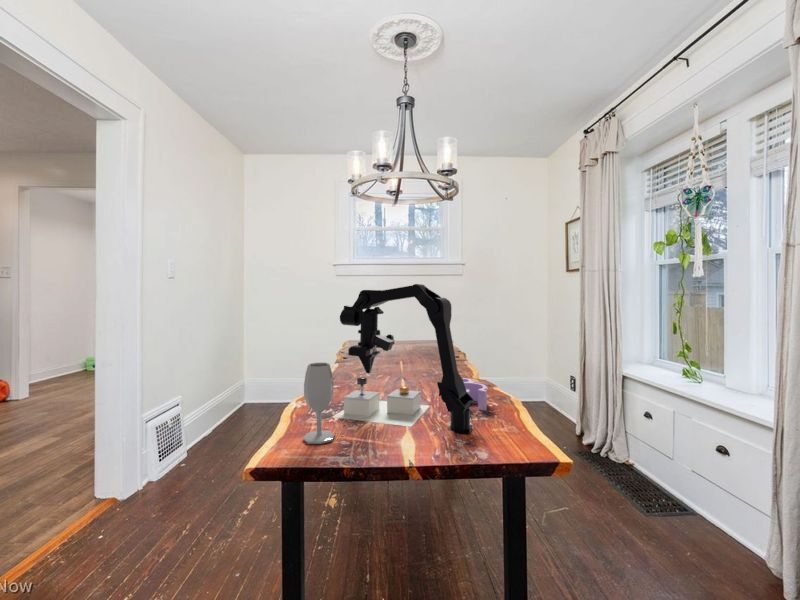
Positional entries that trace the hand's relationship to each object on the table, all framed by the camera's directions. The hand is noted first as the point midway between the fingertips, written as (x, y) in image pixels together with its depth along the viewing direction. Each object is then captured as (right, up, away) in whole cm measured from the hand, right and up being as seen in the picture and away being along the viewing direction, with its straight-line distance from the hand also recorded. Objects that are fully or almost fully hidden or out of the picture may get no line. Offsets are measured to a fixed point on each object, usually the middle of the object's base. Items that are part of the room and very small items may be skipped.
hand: (368, 372), depth 129 cm
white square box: (+12, -13, +1) cm, 18 cm away
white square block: (-2, -13, 0) cm, 13 cm away
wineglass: (-12, -15, -22) cm, 29 cm away
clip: (+36, -14, +12) cm, 40 cm away
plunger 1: (-2, -10, 0) cm, 10 cm away
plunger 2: (+12, -13, +1) cm, 18 cm away
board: (+5, -14, +1) cm, 15 cm away
